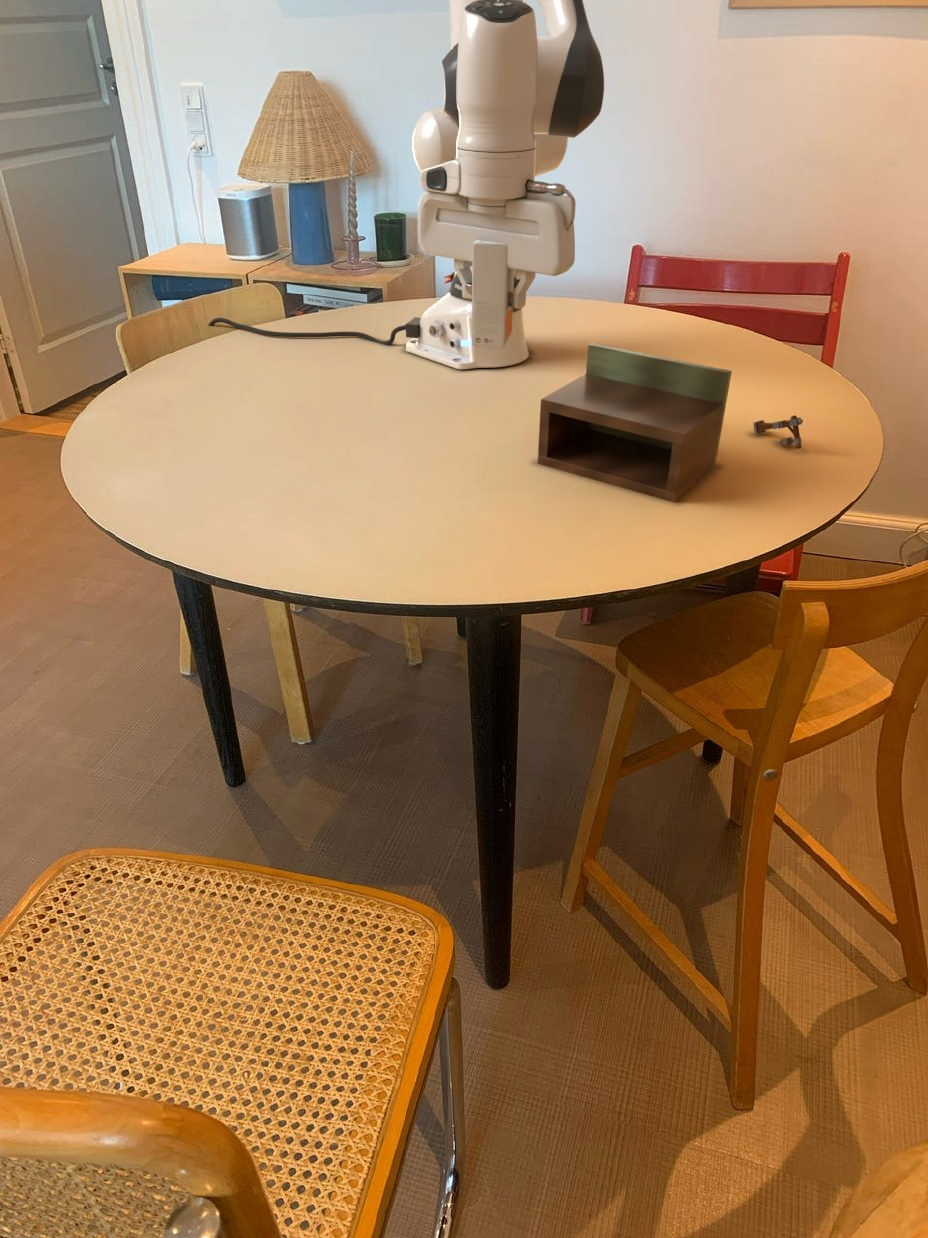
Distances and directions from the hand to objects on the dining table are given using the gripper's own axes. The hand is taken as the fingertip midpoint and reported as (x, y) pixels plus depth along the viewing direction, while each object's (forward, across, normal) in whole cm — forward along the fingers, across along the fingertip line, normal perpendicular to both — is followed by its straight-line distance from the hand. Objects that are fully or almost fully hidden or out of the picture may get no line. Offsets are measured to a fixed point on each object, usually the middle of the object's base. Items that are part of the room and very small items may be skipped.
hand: (493, 302), depth 106 cm
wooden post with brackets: (+21, -29, -29) cm, 47 cm away
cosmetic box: (+5, 0, 0) cm, 5 cm away
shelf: (+21, -16, -9) cm, 28 cm away
